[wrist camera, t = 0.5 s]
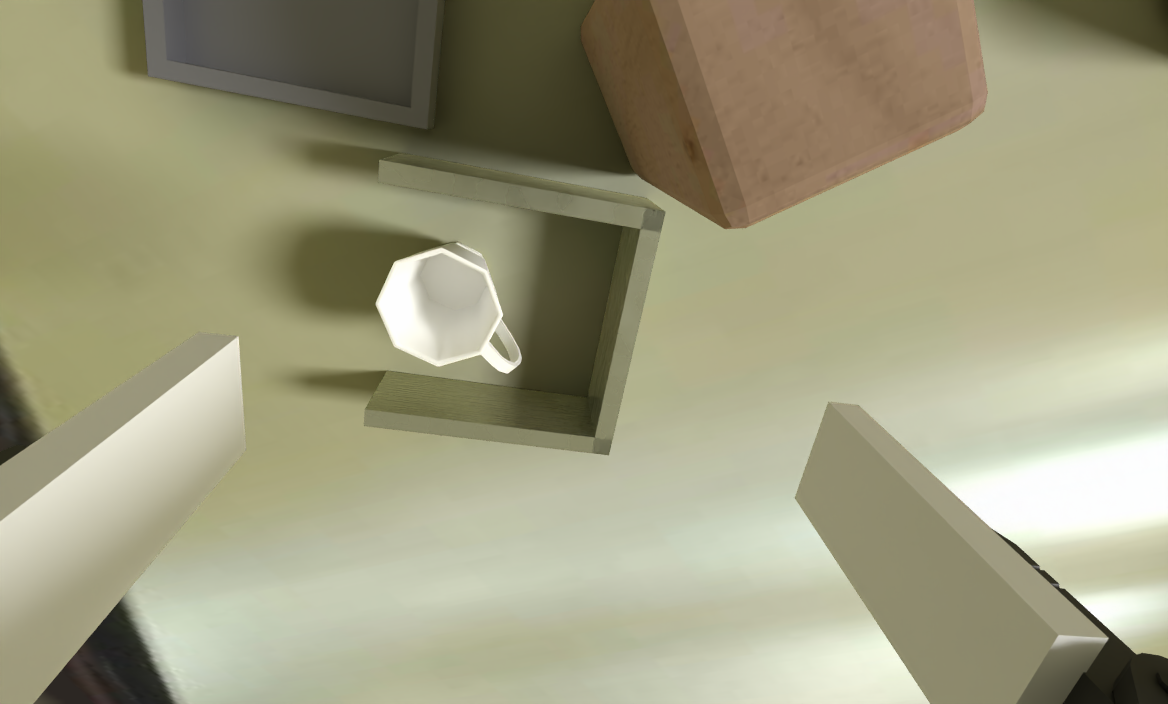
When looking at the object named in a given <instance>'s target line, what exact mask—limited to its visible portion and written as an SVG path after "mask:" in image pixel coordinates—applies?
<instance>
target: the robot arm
mask: <svg viewBox="0 0 1168 704" xmlns="http://www.w3.org/2000/svg"><path fill="white" fill-rule="evenodd" d="M245 451H246V440H245V425H244V411H243V396H242V382H241V367H240V353H239V339H238V336H231V335H222V334H213V333H204V332H198V333H196V334H195V335H193V336H192V337H190V338H189V339H187V340H186V341H185V342H183V343H182V344H180V345H179V346H177V347H176V348H174V349H173V350H171V351H170V352H168V353H167V354H165V355H164V356H162V357H161V358H159V359H158V360H156V361H155V362H153V363H152V364H150V365H149V366H147V367H146V368H144V369H143V370H141V371H140V372H138V373H137V374H136V375H134V376H133V377H131V378H130V379H128V380H127V381H125V382H124V383H122V384H121V385H119V386H118V387H116V388H115V389H113V390H112V391H110V392H109V393H107V394H106V395H104V396H103V397H101V398H100V399H98V400H97V401H95V402H94V403H92V404H91V405H90V406H88V407H87V408H85V409H84V410H82V411H81V412H79V413H78V414H76V415H75V416H73V417H72V418H70V419H69V420H67V421H66V422H64V423H63V424H61V425H60V426H58V427H57V428H55V429H54V430H52V431H51V432H49V433H48V434H46V435H45V436H43V437H42V438H41V439H39V440H38V441H36V442H35V443H33V444H32V445H30V446H20V445H16V446H13V447H11V448H8V449H6V450H3V451H1V452H0V704H33V703H34V702H35V701H36V700H37V698H38V697H39V696H40V695H41V694H42V692H43V691H44V690H45V689H46V688H47V687H48V685H49V684H50V683H51V682H52V681H53V679H54V678H55V677H56V676H57V674H58V673H59V672H60V671H61V670H62V669H63V667H64V666H65V665H66V664H67V663H68V661H69V660H70V659H71V658H72V657H73V656H74V654H75V653H76V652H77V651H78V650H79V648H80V647H81V646H82V645H83V644H84V642H85V641H86V640H87V639H88V638H89V636H90V635H91V634H92V633H93V632H94V631H95V629H96V628H97V627H98V626H99V625H100V623H101V622H102V621H103V620H104V619H105V617H106V616H107V615H108V614H109V613H110V611H111V610H112V609H113V608H114V607H115V606H116V604H117V603H118V602H119V601H120V600H121V598H122V597H123V596H124V595H125V594H126V592H127V591H128V590H129V589H130V588H131V586H132V585H133V584H134V583H135V582H136V580H137V579H138V578H139V577H140V576H141V575H142V573H143V572H144V571H145V570H146V569H147V567H148V566H149V565H150V564H151V563H152V561H153V560H154V559H155V558H156V557H157V555H158V554H159V553H160V552H161V551H162V550H163V548H164V547H165V546H166V545H167V544H168V542H169V541H170V540H171V539H172V538H173V536H174V535H175V534H176V533H177V532H178V530H179V529H180V528H181V527H182V526H183V525H184V523H185V522H186V521H187V520H188V519H189V517H190V516H191V515H192V514H193V513H194V511H195V510H196V509H197V508H198V507H199V505H200V504H201V503H202V502H203V501H204V499H205V498H206V497H207V496H208V495H209V494H210V492H211V491H212V490H213V489H214V488H215V486H216V485H217V484H218V483H219V482H220V480H221V479H222V478H223V477H224V476H225V474H226V473H227V472H228V471H229V470H230V469H231V467H232V466H233V465H234V464H235V463H236V461H237V460H238V459H239V458H240V457H241V455H242V454H243V453H244V452H245ZM795 499H796V501H797V502H798V504H799V505H800V507H801V508H802V510H803V511H804V513H805V514H806V516H807V517H808V519H809V520H810V522H811V523H812V525H813V526H814V528H815V529H816V531H817V532H818V534H819V535H820V537H821V539H822V540H823V542H824V543H825V545H826V546H827V548H828V549H829V551H830V552H831V554H832V555H833V557H834V558H835V560H836V561H837V563H838V564H839V566H840V567H841V569H842V570H843V572H844V573H845V575H846V576H847V578H848V579H849V581H850V583H851V584H852V586H853V587H854V589H855V590H856V592H857V593H858V595H859V596H860V598H861V599H862V601H863V602H864V604H865V605H866V607H867V608H868V610H869V611H870V613H871V614H872V616H873V617H874V619H875V620H876V622H877V623H878V625H879V627H880V628H881V630H882V631H883V633H884V634H885V636H886V637H887V639H888V640H889V642H890V643H891V645H892V646H893V648H894V649H895V651H896V652H897V654H898V655H899V657H900V658H901V660H902V661H903V663H904V664H905V666H906V667H907V669H908V671H909V672H910V674H911V675H912V677H913V678H914V680H915V681H916V683H917V684H918V686H919V687H920V689H921V690H922V692H923V693H924V695H925V696H926V698H927V699H928V701H929V702H930V704H1168V659H1167V658H1164V657H1162V656H1159V655H1152V654H1145V653H1141V654H1138V655H1136V654H1135V653H1134V652H1133V651H1132V650H1131V649H1130V648H1129V647H1127V646H1126V645H1125V644H1124V643H1123V642H1122V641H1121V640H1120V639H1119V638H1118V637H1117V636H1115V635H1114V634H1113V633H1112V632H1111V631H1110V630H1109V629H1108V628H1107V627H1106V626H1105V625H1103V624H1102V623H1101V622H1100V621H1099V620H1098V619H1097V618H1096V617H1095V616H1094V615H1093V614H1091V613H1090V612H1089V611H1088V610H1087V609H1086V608H1085V607H1084V606H1083V605H1082V604H1080V603H1079V602H1078V601H1077V600H1076V599H1075V598H1074V597H1073V596H1072V595H1071V594H1070V593H1068V592H1067V591H1066V590H1065V589H1061V588H1060V587H1059V583H1058V582H1056V581H1055V580H1054V579H1053V578H1052V577H1051V576H1050V575H1049V574H1048V573H1047V572H1046V571H1044V570H1040V568H1039V567H1040V566H1039V565H1038V564H1037V563H1036V562H1035V561H1034V560H1032V559H1031V558H1030V557H1029V556H1028V555H1027V554H1026V553H1025V552H1024V551H1023V550H1021V549H1020V548H1019V547H1018V546H1017V545H1016V544H1014V543H1013V542H1011V541H1010V540H1008V539H1007V538H1005V537H1004V536H1002V535H1000V534H999V533H997V532H996V531H994V530H993V529H991V528H990V527H989V526H988V525H987V524H986V523H985V522H984V521H983V520H981V519H980V518H979V517H978V516H977V515H976V514H975V513H974V512H973V511H972V510H971V509H970V508H969V507H967V506H966V505H965V504H964V503H963V502H962V501H961V500H960V499H959V498H958V497H957V496H956V495H955V494H953V493H952V492H951V491H950V490H949V489H948V488H947V487H946V486H945V485H944V484H943V483H942V482H941V481H940V480H938V479H937V478H936V477H935V476H934V475H933V474H932V473H931V472H930V471H929V470H928V469H927V468H926V467H924V466H923V465H922V464H921V463H920V462H919V461H918V460H917V459H916V458H915V457H914V456H913V455H912V454H910V453H909V452H908V451H907V450H906V449H905V448H904V447H903V446H902V445H901V444H900V443H899V442H898V441H897V440H895V439H894V438H893V437H892V436H891V435H890V434H889V433H888V432H887V431H886V430H885V429H884V428H883V427H881V426H880V425H879V424H878V423H877V422H876V421H875V420H874V419H873V418H872V417H871V416H870V415H869V414H867V413H866V412H865V411H864V410H863V409H862V408H861V407H860V406H859V405H853V404H844V403H835V402H828V405H827V407H826V410H825V413H824V416H823V419H822V422H821V424H820V427H819V430H818V433H817V436H816V439H815V442H814V444H813V447H812V450H811V453H810V456H809V459H808V462H807V464H806V467H805V470H804V473H803V476H802V479H801V482H800V484H799V487H798V490H797V493H796V496H795Z"/></svg>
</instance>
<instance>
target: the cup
mask: <svg viewBox="0 0 1168 704" xmlns="http://www.w3.org/2000/svg"><path fill="white" fill-rule="evenodd" d="M375 304H376V307H377V309H378V311H379V313H380V316H381V318H382V320H383V322H384V325H385V327H386V329H387V332H388V334H389V336H390V338H391V341H392V343H393V345H394V347H396V348H398V349H400V350H402V351H404V352H407V353H409V354H411V355H413V356H415V357H418V358H420V359H422V360H424V361H426V362H429V363H431V364H433V365H435V366H437V367H439V366H443V365H446V364H449V363H453V362H456V361H460V360H463V359H467V358H470V357H473V356H477V355H480V354H481V355H482V356H483V357H484V358H485V359H486V360H487V361H488V362H489V363H490V364H491V365H492V366H493V367H494V368H496V369H497V370H498V371H500V372H504V373H507V374H508V373H509V372H510V371H512V370H513V369H514V368H516V367H517V366H518V365H519V364H520V363H521V359H522V356H521V353H520V349H519V347H518V345H517V343H516V342H515V340H514V338H513V336H512V335H511V333H510V331H509V330H508V328H507V327H506V325H505V324H504V322H503V321H502V319H501V318H502V316H503V313H502V310H501V307H500V304H499V301H498V297H497V293H496V290H495V287H494V284H493V281H492V279H491V276H490V273H489V270H488V267H487V264H486V262H485V259H484V258H483V257H482V254H481V253H479V252H477V251H476V250H474V249H472V248H470V247H468V246H466V245H464V244H462V243H460V242H456V243H453V242H452V243H449V244H445V245H442V246H439V247H435V248H432V249H429V250H425V251H422V252H419V253H416V254H414V255H411V256H409V257H406V258H403V259H400V260H397V261H395V262H394V264H393V266H392V268H391V270H390V272H389V275H388V277H387V279H386V281H385V283H384V286H383V288H382V290H381V292H380V294H379V297H378V299H377V301H376V303H375ZM494 331H496V333H497V335H498V336H499V338H500V339H501V341H502V343H503V344H504V346H505V348H506V350H507V352H508V354H509V358H510V361H508V360H506V359H505V358H504V357H502V356H501V355H500V353H499V352H498V351H497V350H496V349H495V348H494V346H493V345H492V344H491V343H490V342H489V340H490V338H491V337H492V335H493V333H494Z"/></svg>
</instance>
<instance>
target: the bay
mask: <svg viewBox="0 0 1168 704" xmlns="http://www.w3.org/2000/svg"><path fill="white" fill-rule="evenodd" d="M378 183H383V184H389V185H394V186H400V187H406V188H411V189H417V190H423V191H428V192H434V193H440V194H445V195H451V196H457V197H462V198H468V199H474V200H479V201H485V202H491V203H496V204H502V205H508V206H513V207H519V208H525V209H530V210H536V211H542V212H547V213H553V214H559V215H564V216H570V217H575V218H581V219H587V220H592V221H598V222H604V223H609V224H615V225H621V226H623V228H622V233H621V238H620V243H619V247H618V252H617V257H616V262H615V267H614V271H613V276H612V281H611V286H610V291H609V295H608V300H607V305H606V310H605V315H604V319H603V324H602V329H601V334H600V339H599V343H598V348H597V353H596V358H595V363H594V367H593V372H592V377H591V382H590V386H589V391H588V396H587V397H581V396H573V395H565V394H558V393H550V392H543V391H535V390H528V389H520V388H513V387H505V386H498V385H490V384H483V383H475V382H468V381H460V380H453V379H445V378H438V377H430V376H423V375H415V374H407V373H400V372H392V371H386V373H385V375H384V377H383V379H382V380H381V382H380V384H379V386H378V387H377V389H376V391H375V393H374V394H373V396H372V398H371V400H370V401H369V403H368V405H367V407H366V408H365V417H364V426H368V427H377V428H385V429H393V430H402V431H410V432H419V433H427V434H435V435H444V436H452V437H460V438H469V439H477V440H486V441H494V442H502V443H511V444H519V445H528V446H536V447H544V448H553V449H561V450H569V451H578V452H586V453H595V454H603V455H609V452H610V448H611V444H612V440H613V435H614V431H615V427H616V422H617V418H618V414H619V409H620V405H621V401H622V397H623V392H624V388H625V384H626V379H627V375H628V371H629V366H630V362H631V358H632V354H633V349H634V345H635V341H636V336H637V332H638V328H639V324H640V319H641V315H642V311H643V306H644V302H645V298H646V293H647V289H648V285H649V281H650V276H651V272H652V268H653V263H654V259H655V255H656V250H657V246H658V242H659V238H660V233H661V229H662V225H663V220H664V216H665V211H664V210H662V209H661V208H660V207H658V206H657V205H655V204H654V203H653V202H651V201H650V200H649V199H647V198H644V197H638V196H633V195H628V194H622V193H617V192H611V191H606V190H601V189H595V188H590V187H584V186H579V185H574V184H568V183H563V182H557V181H552V180H546V179H541V178H536V177H530V176H525V175H519V174H514V173H509V172H503V171H498V170H492V169H487V168H482V167H476V166H471V165H465V164H460V163H454V162H449V161H444V160H438V159H433V158H427V157H422V156H417V155H411V154H406V153H400V154H397V155H394V156H390V157H387V158H384V159H380V160H379V174H378Z"/></svg>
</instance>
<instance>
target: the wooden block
mask: <svg viewBox="0 0 1168 704" xmlns="http://www.w3.org/2000/svg"><path fill="white" fill-rule="evenodd" d="M581 42H582V45H583V47H584V50H585V52H586V55H587V57H588V60H589V62H590V65H591V67H592V70H593V72H594V75H595V77H596V80H597V82H598V85H599V87H600V90H601V92H602V95H603V97H604V100H605V102H606V105H607V107H608V110H609V112H610V115H611V117H612V120H613V122H614V125H615V127H616V130H617V132H618V135H619V137H620V140H621V142H622V145H623V147H624V150H625V152H626V155H627V157H628V160H629V162H630V165H631V167H632V170H633V171H634V172H635V173H636V174H637V175H638V176H639V177H640V178H641V179H643V180H645V181H646V182H648V183H650V184H651V185H653V186H655V187H656V188H658V189H660V190H661V191H663V192H665V193H666V194H668V195H670V196H671V197H673V198H675V199H676V200H678V201H679V202H681V203H683V204H684V205H686V206H688V207H689V208H691V209H693V210H694V211H696V212H698V213H699V214H701V215H703V216H704V217H706V218H708V219H709V220H711V221H713V222H714V223H716V224H718V225H719V226H721V227H723V228H724V229H735V228H747V227H749V226H751V225H753V224H755V223H758V222H760V221H762V220H764V219H766V218H768V217H771V216H773V215H775V214H777V213H779V212H782V211H784V210H786V209H788V208H790V207H792V206H795V205H797V204H799V203H801V202H803V201H806V200H808V199H810V198H812V197H814V196H816V195H819V194H821V193H823V192H825V191H827V190H830V189H832V188H834V187H836V186H838V185H840V184H843V183H845V182H847V181H849V180H851V179H854V178H856V177H858V176H860V175H862V174H864V173H867V172H869V171H871V170H873V169H875V168H878V167H880V166H882V165H884V164H886V163H888V162H891V161H893V160H895V159H897V158H899V157H902V156H904V155H906V154H908V153H910V152H912V151H915V150H917V149H919V148H921V147H923V146H926V145H928V144H930V143H932V142H934V141H936V140H939V139H941V138H943V137H945V136H947V135H950V134H952V133H954V132H956V131H958V130H960V129H961V128H963V127H965V126H966V125H968V124H969V123H971V122H972V121H973V120H974V119H976V118H977V117H978V116H979V115H980V114H981V113H983V112H984V108H985V103H986V99H987V94H988V91H987V84H986V78H985V71H984V65H983V58H982V52H981V45H980V39H979V32H978V26H977V20H976V13H975V7H974V0H595V1H594V3H593V5H592V7H591V8H590V10H589V12H588V14H587V16H586V18H585V19H584V21H583V23H582V25H581Z"/></svg>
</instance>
